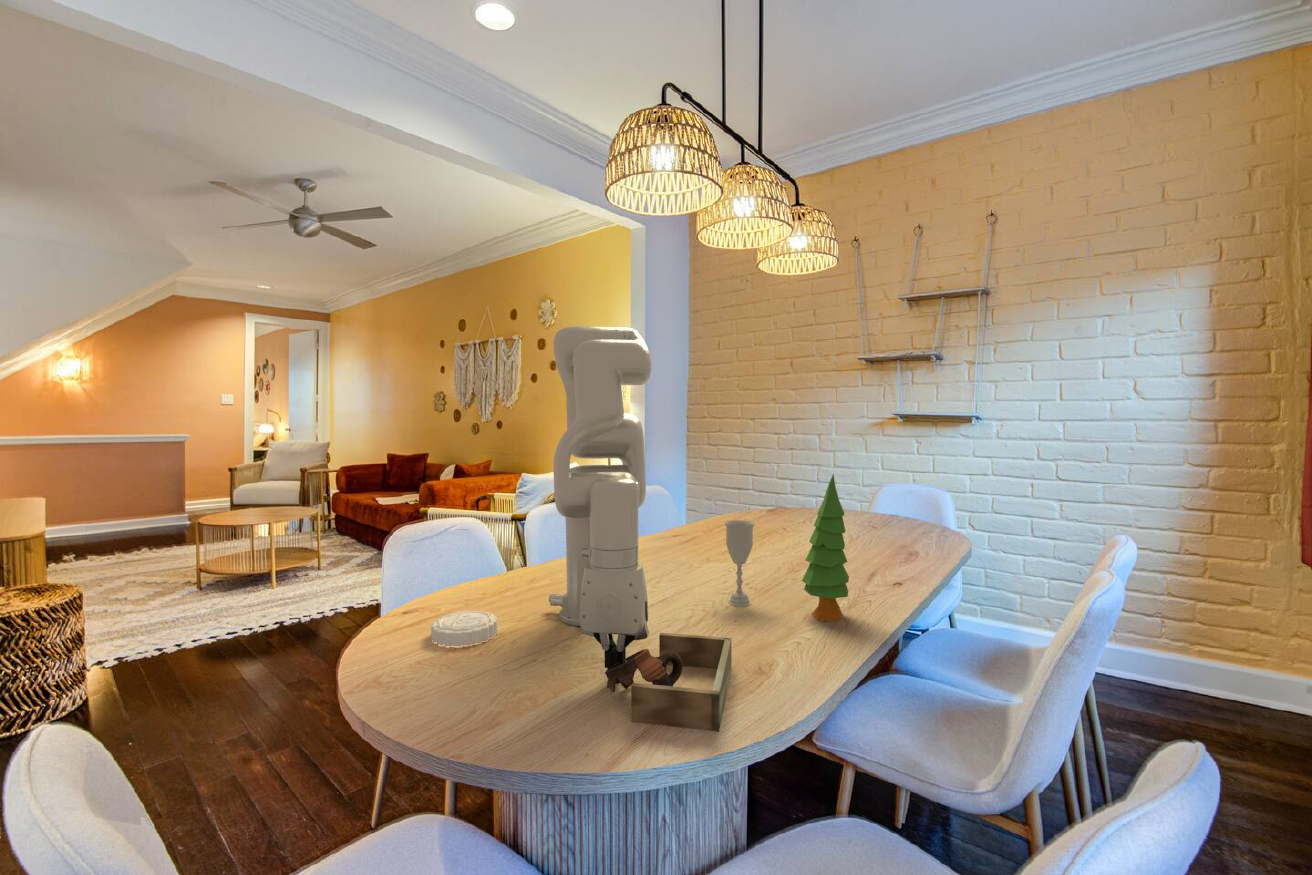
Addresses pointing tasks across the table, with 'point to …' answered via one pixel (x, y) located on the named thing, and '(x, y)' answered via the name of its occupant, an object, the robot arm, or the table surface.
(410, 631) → the table surface
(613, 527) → the robot arm
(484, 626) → the mooncake
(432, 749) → the table surface
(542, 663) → the table surface
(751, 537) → the chalice
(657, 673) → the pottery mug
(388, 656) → the table surface
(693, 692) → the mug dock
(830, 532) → the decorative tree
